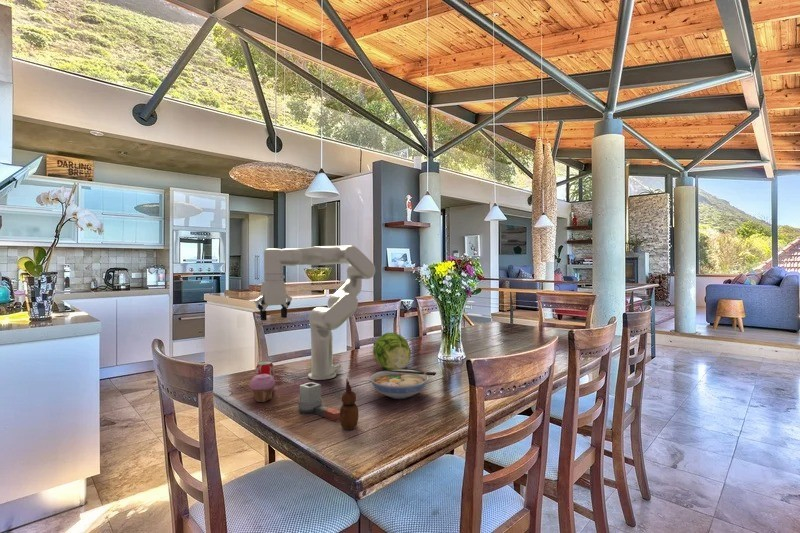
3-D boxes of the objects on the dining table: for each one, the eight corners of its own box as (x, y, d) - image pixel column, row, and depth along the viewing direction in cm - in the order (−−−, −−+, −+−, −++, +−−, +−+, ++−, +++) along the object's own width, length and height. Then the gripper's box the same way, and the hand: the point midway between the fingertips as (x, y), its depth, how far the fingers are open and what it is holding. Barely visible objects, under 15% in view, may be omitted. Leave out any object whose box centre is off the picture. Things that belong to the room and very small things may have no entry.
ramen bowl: (357, 402, 152) (357, 380, 152) (380, 384, 174) (380, 365, 173) (422, 409, 144) (421, 386, 143) (438, 390, 165) (438, 370, 165)
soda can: (268, 395, 160) (268, 365, 160) (252, 394, 162) (251, 364, 161) (277, 390, 167) (277, 360, 167) (261, 389, 168) (261, 360, 168)
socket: (311, 398, 148) (311, 381, 148) (321, 401, 145) (320, 384, 145) (299, 402, 144) (299, 385, 144) (309, 405, 141) (308, 388, 141)
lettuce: (380, 378, 184) (388, 342, 182) (366, 359, 205) (373, 326, 204) (415, 381, 190) (423, 346, 189) (397, 362, 212) (405, 330, 210)
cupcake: (264, 405, 149) (264, 378, 149) (245, 403, 152) (244, 376, 152) (279, 398, 157) (279, 372, 157) (261, 395, 160) (260, 370, 160)
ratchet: (312, 404, 150) (312, 383, 150) (348, 416, 138) (347, 393, 138) (293, 410, 144) (293, 388, 144) (329, 423, 132) (329, 399, 132)
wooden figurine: (340, 423, 132) (340, 377, 132) (358, 422, 132) (358, 376, 132) (339, 432, 125) (338, 383, 125) (358, 431, 126) (357, 382, 125)
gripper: (285, 277, 181) (286, 316, 181) (249, 278, 167) (250, 320, 168) (296, 277, 176) (296, 317, 176) (259, 279, 163) (260, 322, 163)
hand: (274, 318), depth 172 cm, fingers open, 9 cm apart
